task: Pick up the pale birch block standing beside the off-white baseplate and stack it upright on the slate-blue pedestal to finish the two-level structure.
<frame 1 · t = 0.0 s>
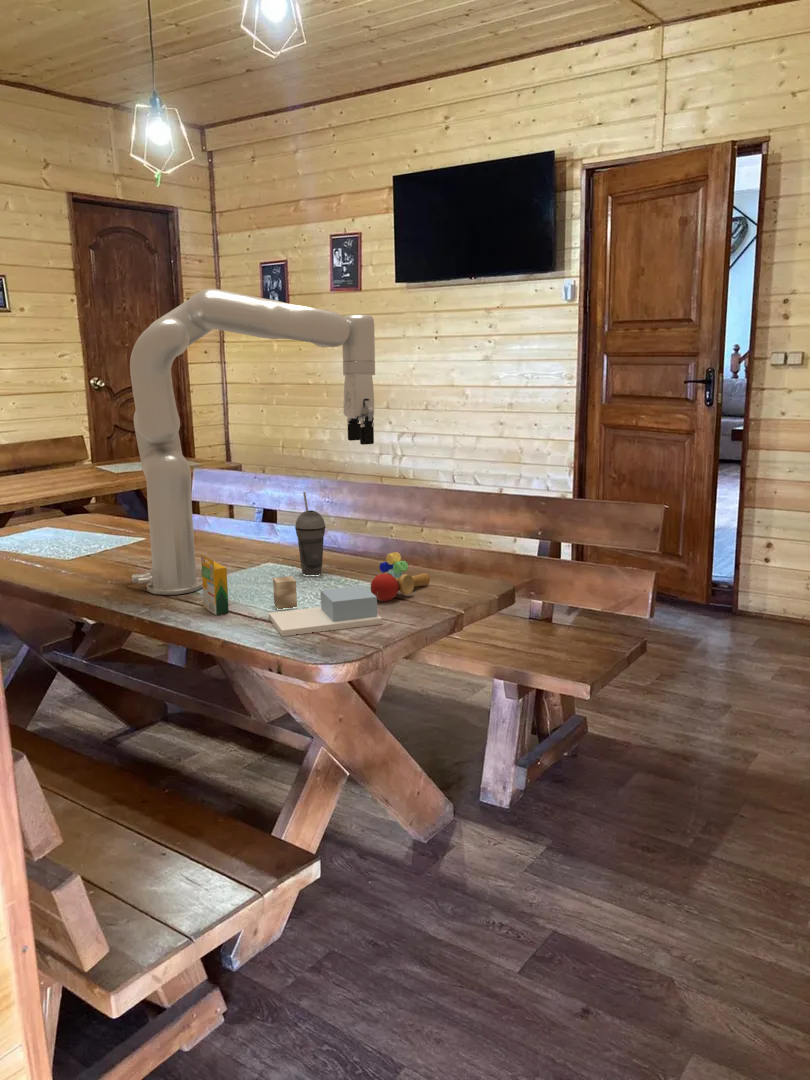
hand: (360, 442, 208), 31 cm above the table, tool pointing down, fingers open, 9 cm apart
birch block: (285, 606, 184), on the table
baseplate: (324, 621, 174), on the table
beverage cup: (312, 575, 210), on the table
crayon box: (216, 611, 182), on the table
dice: (393, 579, 206), on the table
kendama: (401, 595, 193), on the table
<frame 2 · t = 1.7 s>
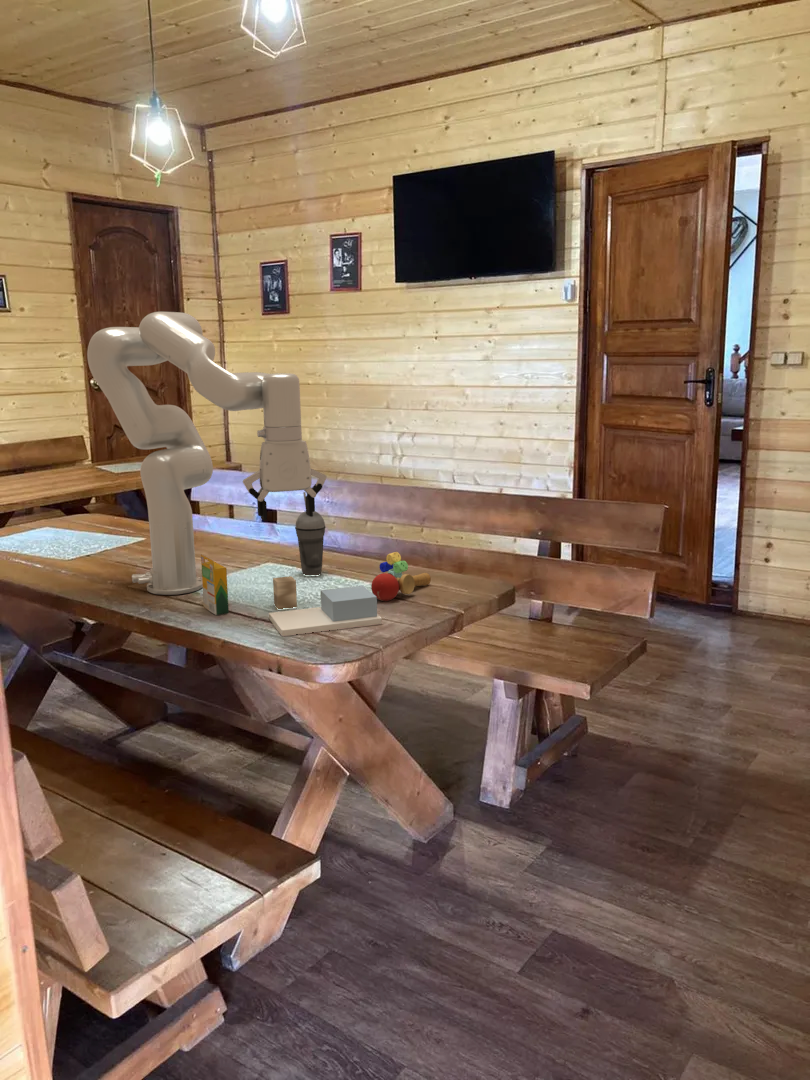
hand: (286, 517, 182), 19 cm above the table, tool pointing down, fingers open, 9 cm apart
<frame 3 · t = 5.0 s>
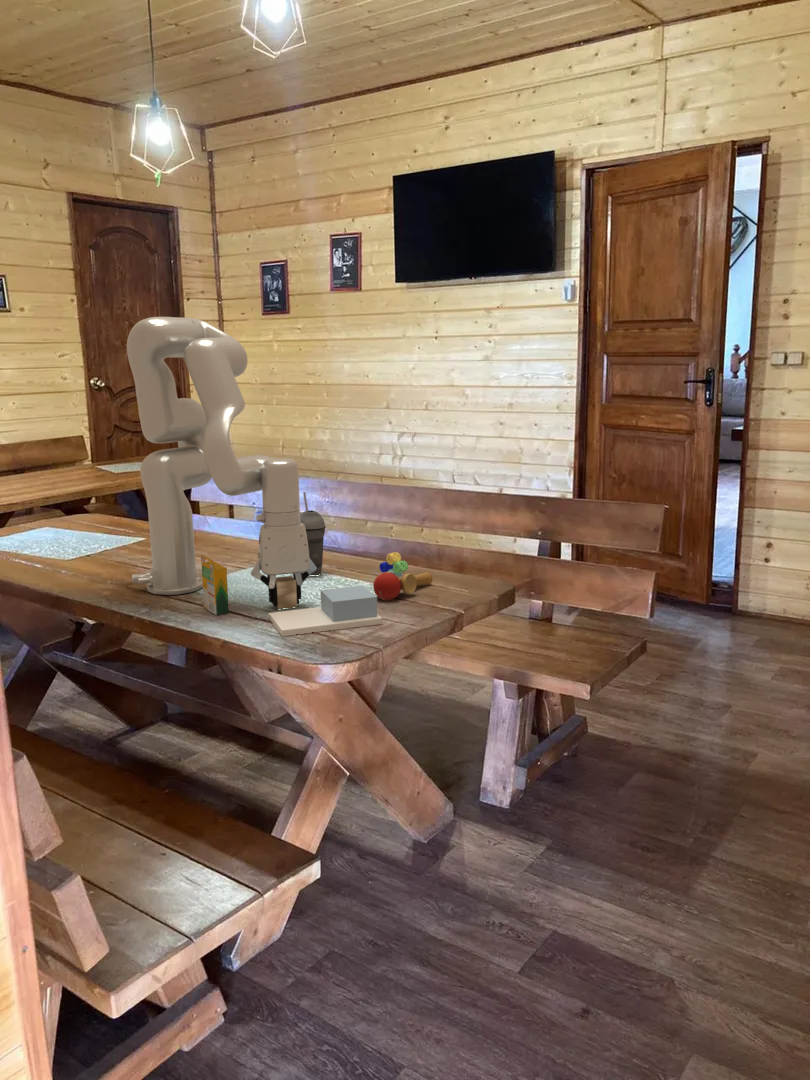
hand: (285, 603, 184), 1 cm above the table, tool pointing down, fingers closed on birch block, 3 cm apart
birch block: (285, 606, 184), on the table, touching gripper
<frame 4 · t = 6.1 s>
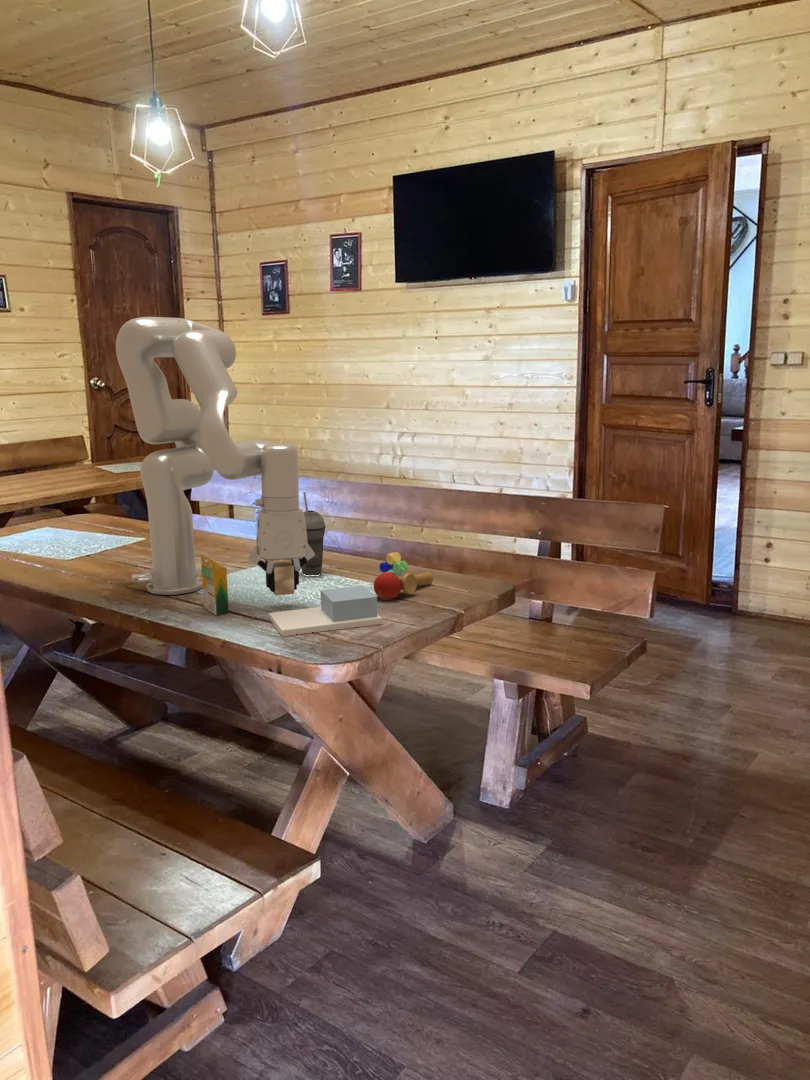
hand: (282, 588, 184), 4 cm above the table, tool pointing down, fingers closed on birch block, 4 cm apart
birch block: (282, 592, 184), point 3 cm above the table, touching gripper
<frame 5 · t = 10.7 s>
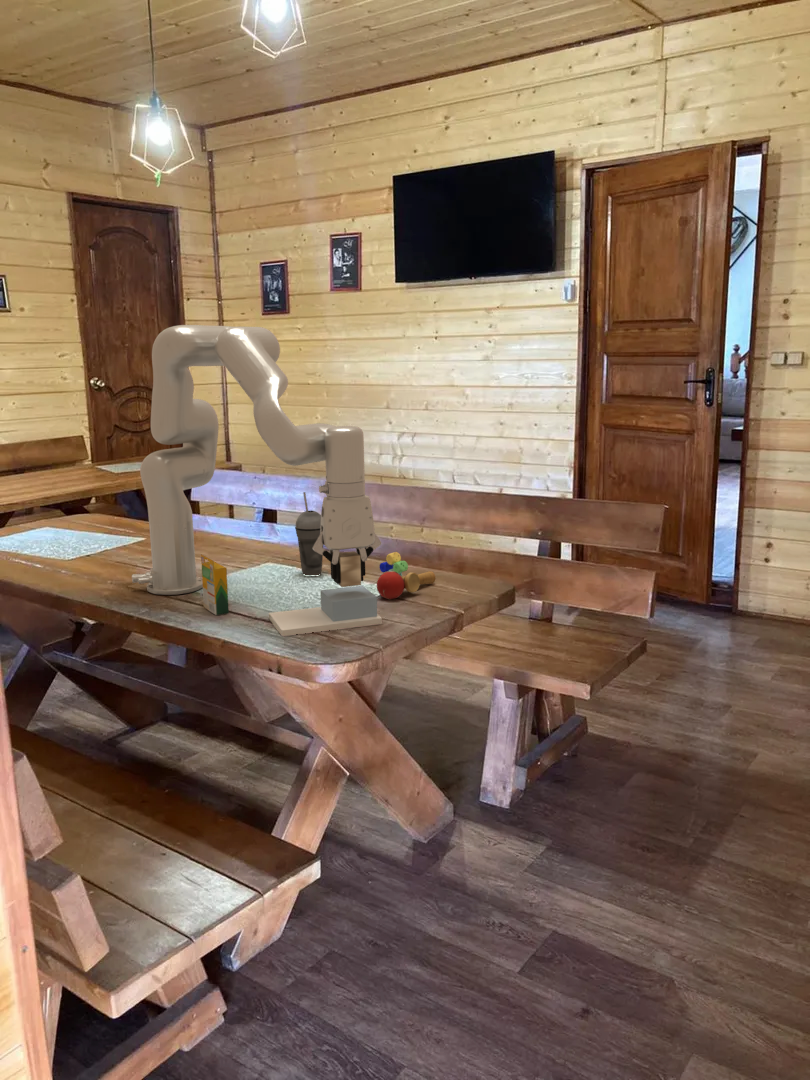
hand: (348, 580, 174), 8 cm above the table, tool pointing down, fingers closed on birch block, 4 cm apart
birch block: (348, 583, 174), point 7 cm above the table, touching gripper
when the fingers open (7 cm above the table, at t = 11.6 s): birch block drops 1 cm, resting on baseplate.
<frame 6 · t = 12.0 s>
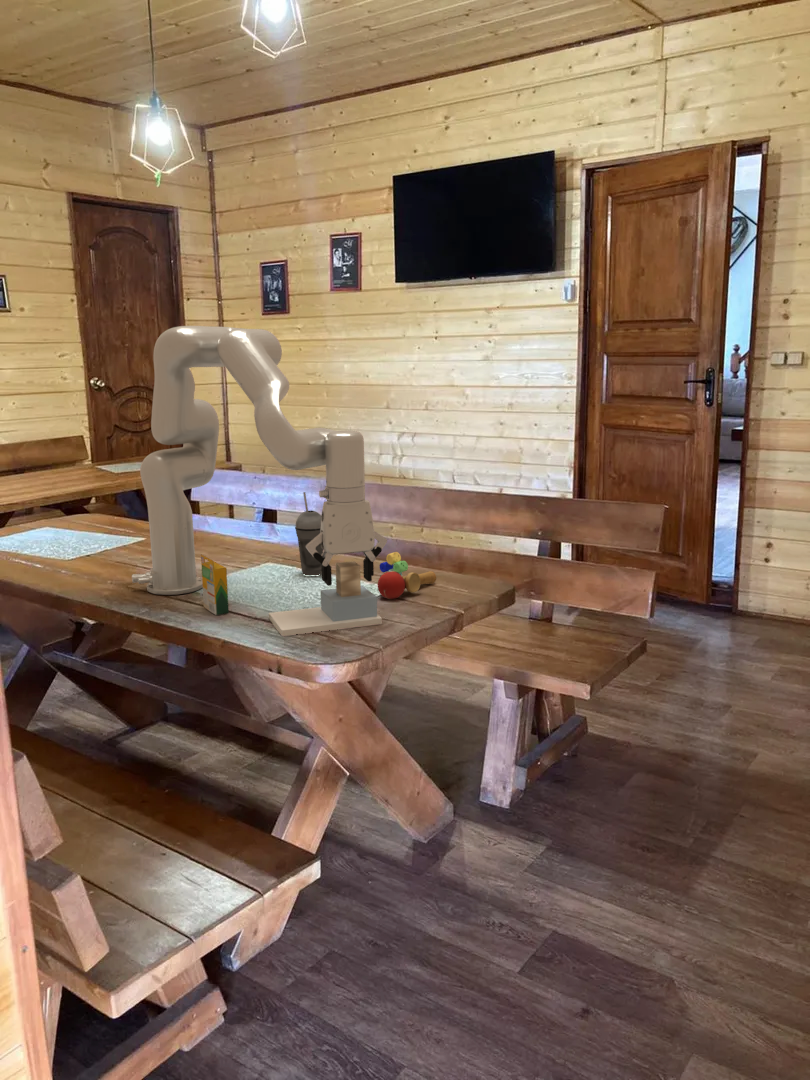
hand: (347, 581, 174), 8 cm above the table, tool pointing down, fingers open, 7 cm apart
birch block: (348, 593, 175), point 5 cm above the table, touching baseplate
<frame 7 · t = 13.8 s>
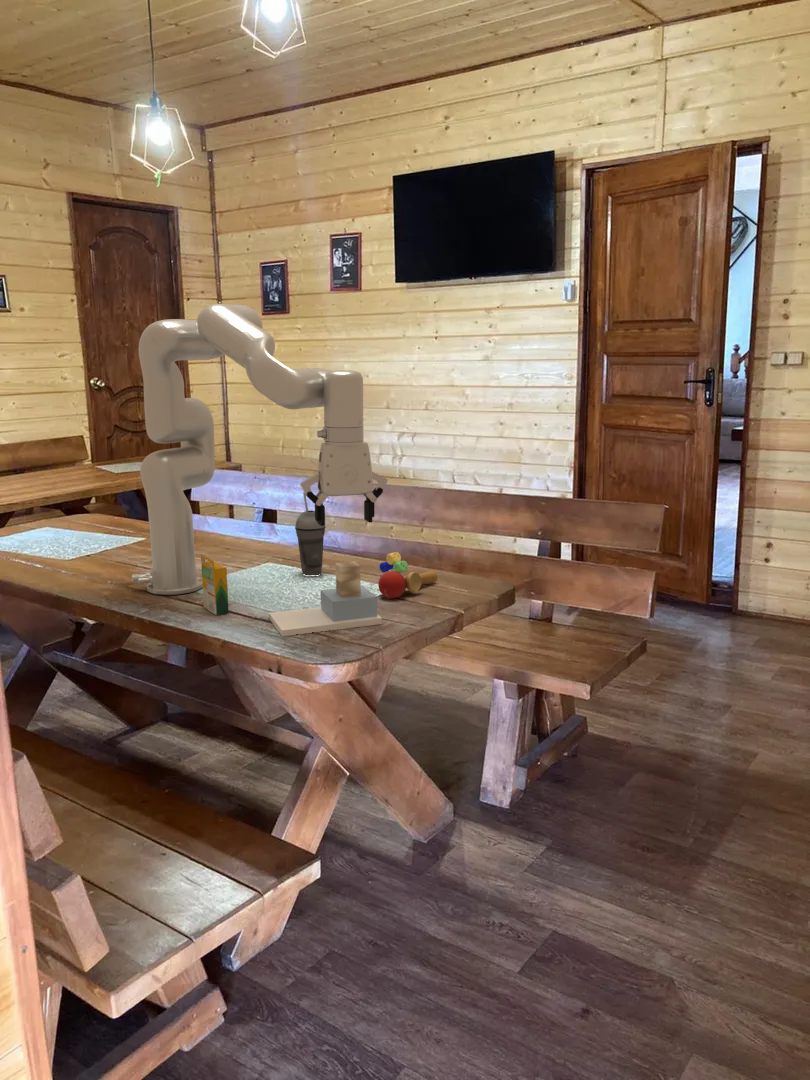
hand: (345, 522, 172), 20 cm above the table, tool pointing down, fingers open, 9 cm apart
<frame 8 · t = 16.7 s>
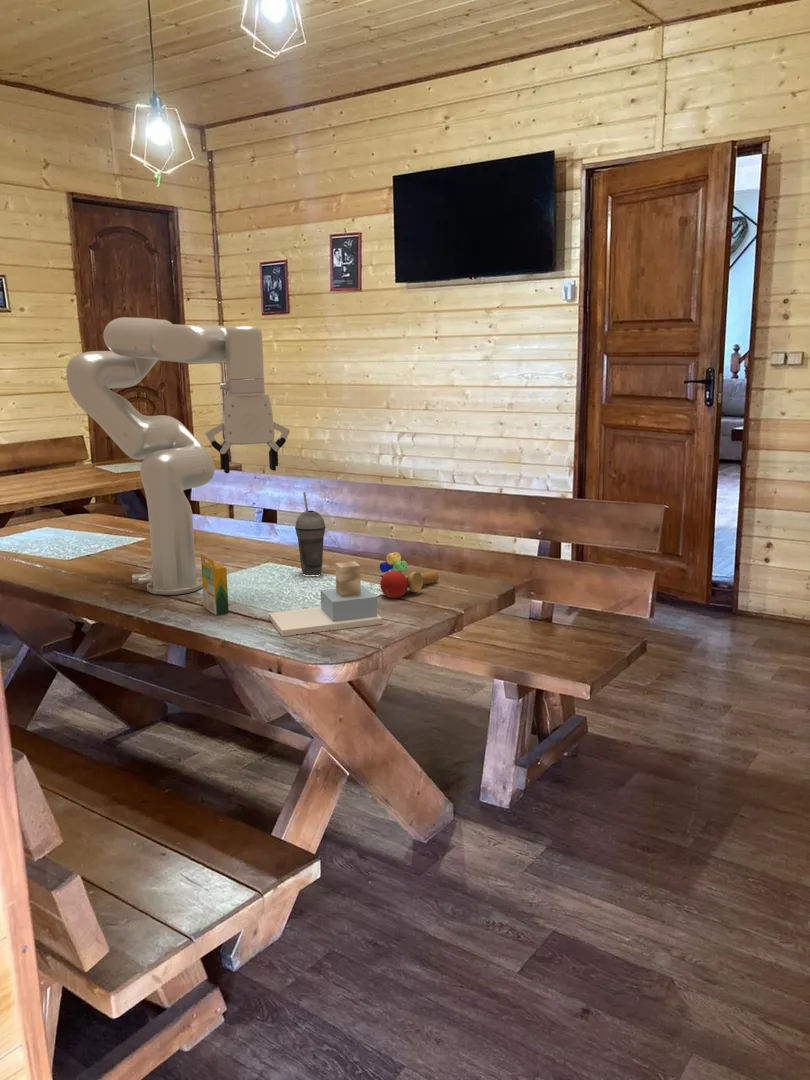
hand: (250, 471, 182), 28 cm above the table, tool pointing down, fingers open, 9 cm apart
at the end: birch block 0.0 cm from the target spot on the baseplate, point 5.2 cm above the baseplate's base; birch block tilted 0°; the gripper is holding nothing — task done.
